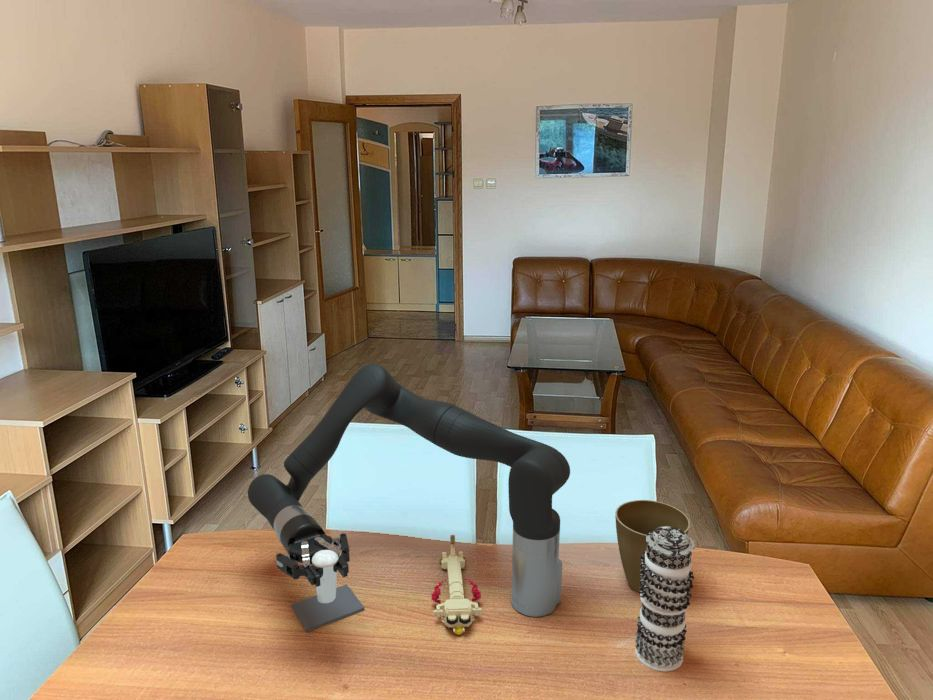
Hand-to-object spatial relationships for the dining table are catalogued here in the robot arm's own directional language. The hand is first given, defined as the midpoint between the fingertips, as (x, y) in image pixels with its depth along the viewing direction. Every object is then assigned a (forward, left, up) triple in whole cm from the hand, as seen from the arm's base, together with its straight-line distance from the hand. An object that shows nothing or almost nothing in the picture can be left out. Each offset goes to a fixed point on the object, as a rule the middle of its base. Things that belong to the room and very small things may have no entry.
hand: (332, 576), depth 117 cm
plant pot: (-64, +14, -18) cm, 68 cm away
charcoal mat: (-4, -15, -17) cm, 23 cm away
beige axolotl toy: (-28, -4, -18) cm, 33 cm away
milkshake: (0, -3, -6) cm, 7 cm away
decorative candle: (-50, +30, -18) cm, 61 cm away
